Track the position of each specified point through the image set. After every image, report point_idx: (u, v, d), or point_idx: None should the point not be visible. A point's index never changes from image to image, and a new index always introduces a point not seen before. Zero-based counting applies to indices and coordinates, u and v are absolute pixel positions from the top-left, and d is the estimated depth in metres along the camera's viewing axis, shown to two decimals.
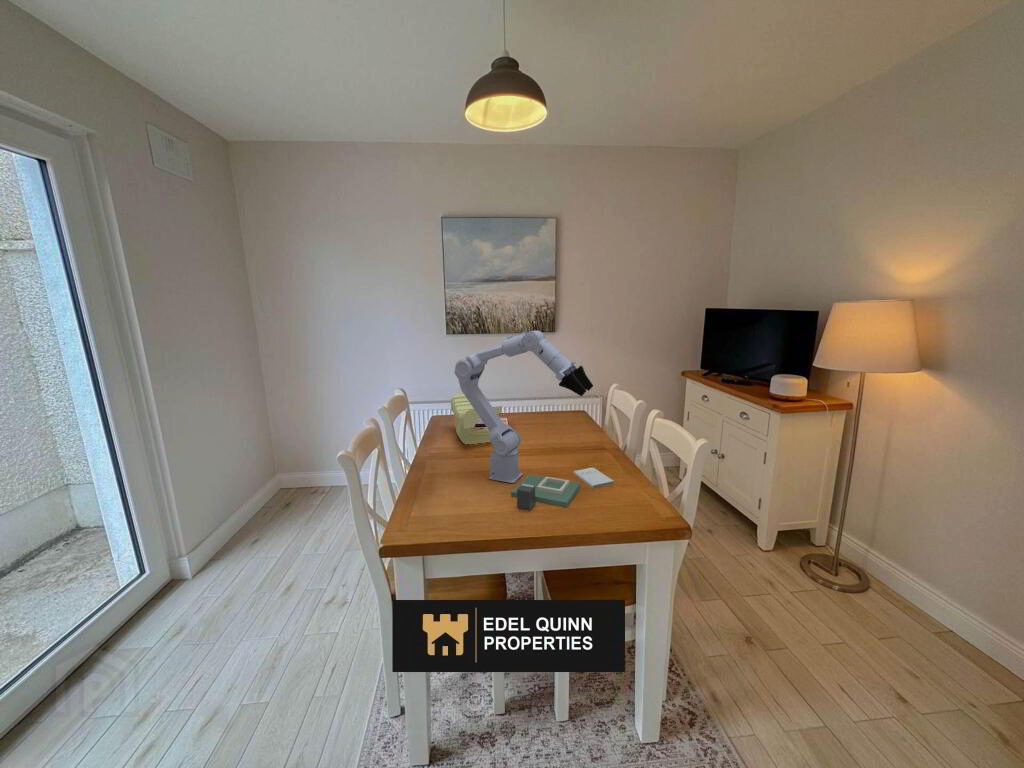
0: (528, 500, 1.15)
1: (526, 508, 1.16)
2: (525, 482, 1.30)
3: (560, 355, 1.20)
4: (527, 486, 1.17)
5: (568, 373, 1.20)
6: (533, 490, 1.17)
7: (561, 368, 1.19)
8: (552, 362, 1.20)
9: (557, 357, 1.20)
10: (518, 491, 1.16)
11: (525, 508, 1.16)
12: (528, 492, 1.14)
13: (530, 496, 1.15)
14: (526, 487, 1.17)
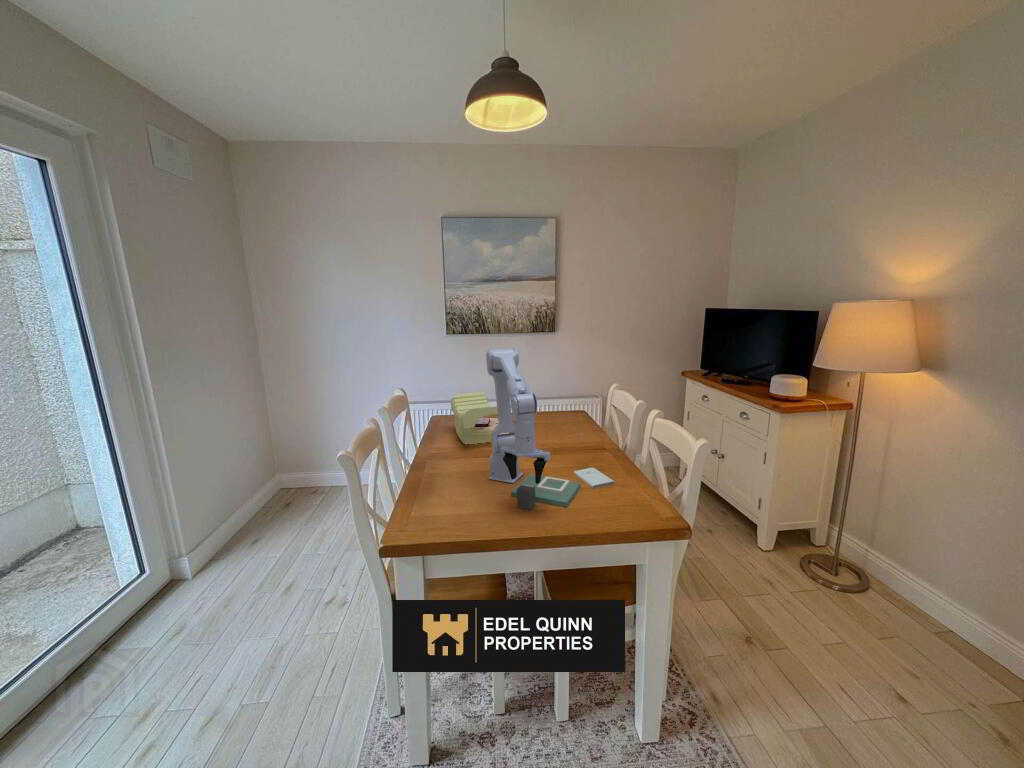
0: (528, 500, 1.15)
1: (526, 508, 1.16)
2: (525, 482, 1.30)
3: (517, 439, 1.12)
4: (527, 486, 1.17)
5: None
6: (533, 490, 1.17)
7: None
8: None
9: (515, 438, 1.13)
10: (518, 491, 1.16)
11: (525, 508, 1.16)
12: (528, 492, 1.14)
13: (530, 496, 1.15)
14: (526, 487, 1.17)
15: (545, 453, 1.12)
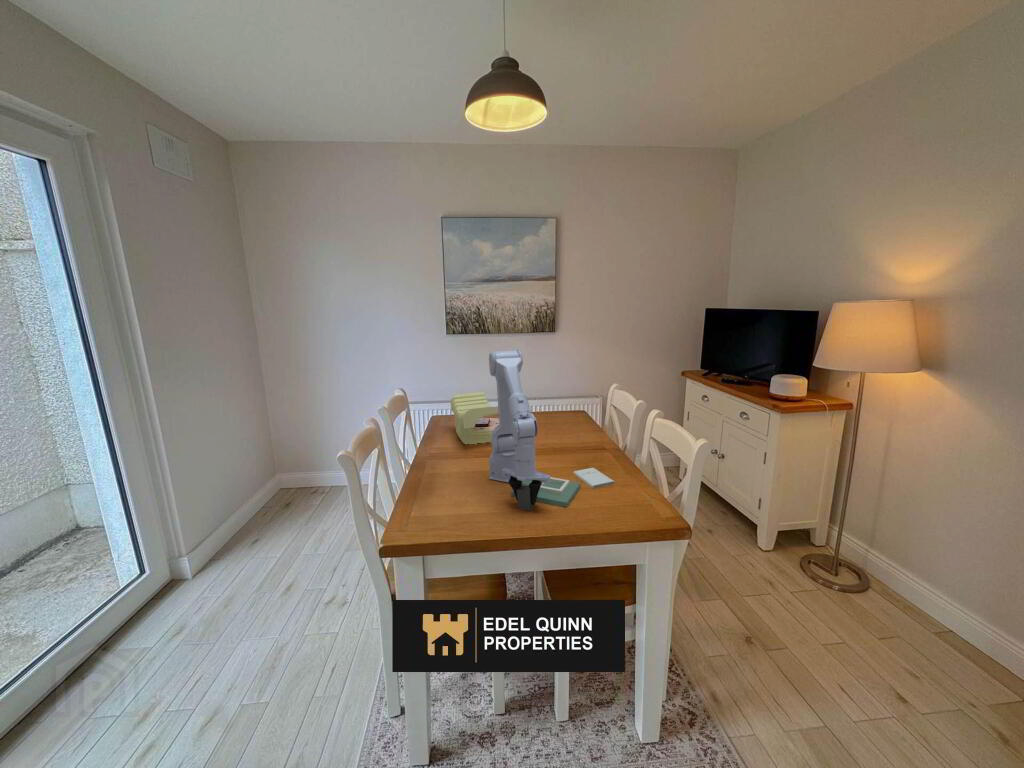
0: (528, 500, 1.15)
1: (526, 508, 1.16)
2: (525, 482, 1.30)
3: (518, 463, 1.13)
4: (527, 486, 1.17)
5: None
6: None
7: None
8: None
9: (516, 461, 1.14)
10: (518, 491, 1.16)
11: (525, 508, 1.16)
12: (528, 492, 1.14)
13: (530, 496, 1.15)
14: (526, 487, 1.17)
15: (545, 476, 1.13)
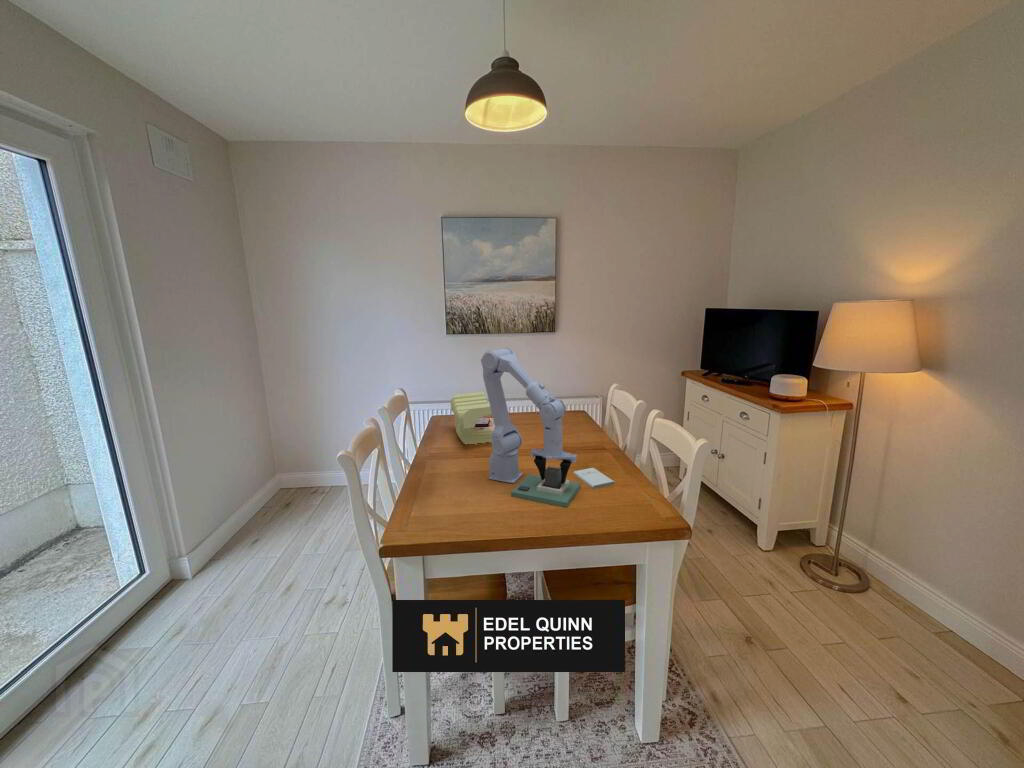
0: (555, 481, 1.23)
1: None
2: (525, 482, 1.30)
3: (547, 443, 1.21)
4: (554, 468, 1.25)
5: None
6: (559, 472, 1.25)
7: None
8: None
9: (544, 441, 1.22)
10: (546, 472, 1.24)
11: None
12: (555, 473, 1.23)
13: (557, 477, 1.23)
14: (553, 469, 1.25)
15: (572, 455, 1.21)
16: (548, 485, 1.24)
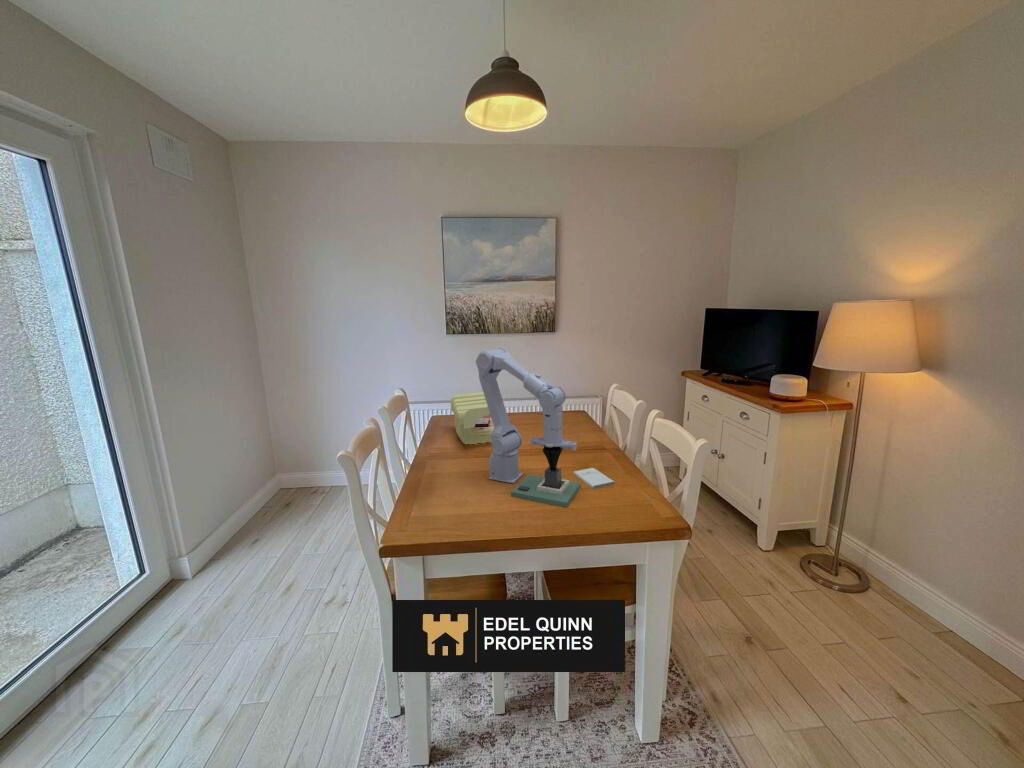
0: (555, 481, 1.23)
1: None
2: (525, 482, 1.30)
3: (546, 431, 1.21)
4: None
5: None
6: (559, 472, 1.25)
7: (543, 438, 1.24)
8: None
9: (544, 429, 1.22)
10: (546, 472, 1.24)
11: None
12: (555, 473, 1.23)
13: (557, 477, 1.23)
14: None
15: (572, 443, 1.20)
16: (548, 485, 1.24)
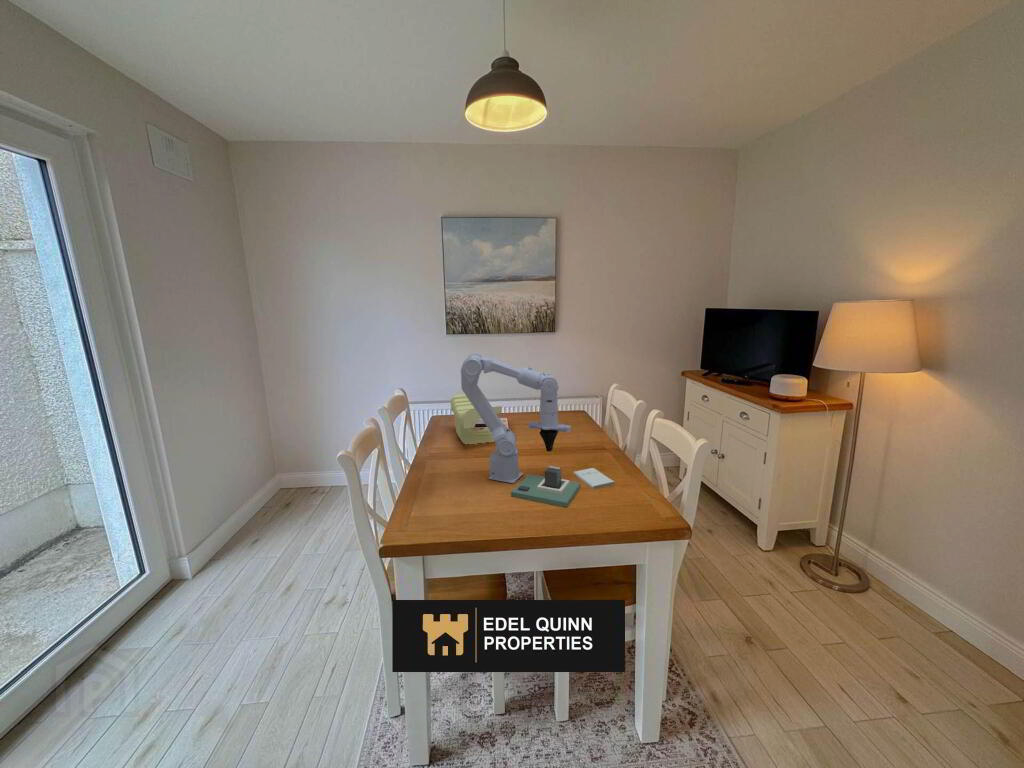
0: (555, 481, 1.23)
1: None
2: (525, 482, 1.30)
3: (543, 415, 1.31)
4: (554, 468, 1.25)
5: None
6: (559, 472, 1.25)
7: None
8: None
9: (541, 413, 1.32)
10: (546, 472, 1.24)
11: None
12: (555, 473, 1.23)
13: (557, 477, 1.23)
14: (553, 469, 1.25)
15: (567, 426, 1.31)
16: (548, 485, 1.24)
